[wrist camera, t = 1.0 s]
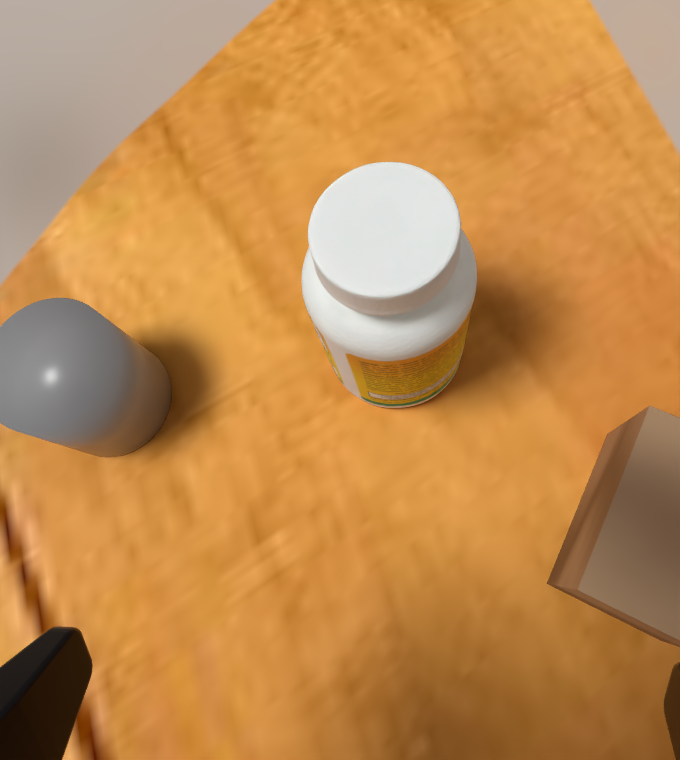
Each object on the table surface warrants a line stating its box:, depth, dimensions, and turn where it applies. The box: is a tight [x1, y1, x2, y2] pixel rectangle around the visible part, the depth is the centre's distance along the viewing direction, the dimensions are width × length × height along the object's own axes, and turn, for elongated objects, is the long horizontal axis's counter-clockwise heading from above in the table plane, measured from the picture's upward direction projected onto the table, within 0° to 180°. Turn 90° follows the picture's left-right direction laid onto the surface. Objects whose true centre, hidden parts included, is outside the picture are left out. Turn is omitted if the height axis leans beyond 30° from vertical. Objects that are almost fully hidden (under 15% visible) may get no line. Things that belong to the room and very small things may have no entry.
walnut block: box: [547, 406, 680, 647], centre depth 19 cm, size 6×4×4 cm, turn 153°
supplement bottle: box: [302, 162, 477, 408], centre depth 20 cm, size 5×5×10 cm
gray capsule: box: [0, 298, 172, 457], centre depth 23 cm, size 5×5×5 cm
